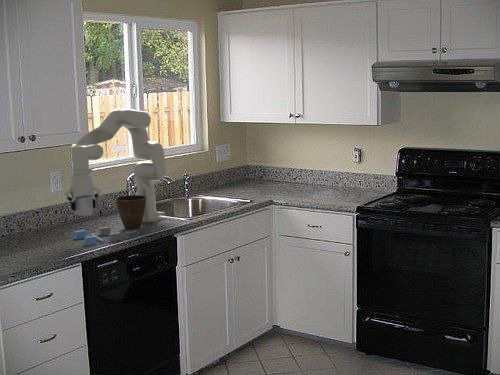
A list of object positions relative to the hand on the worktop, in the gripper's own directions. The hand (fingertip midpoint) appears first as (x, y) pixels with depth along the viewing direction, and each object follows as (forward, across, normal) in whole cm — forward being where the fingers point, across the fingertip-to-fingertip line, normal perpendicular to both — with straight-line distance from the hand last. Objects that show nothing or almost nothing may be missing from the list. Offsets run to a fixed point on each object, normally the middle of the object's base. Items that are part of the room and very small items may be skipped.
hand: (83, 209), depth 329 cm
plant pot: (+16, -28, -12) cm, 34 cm away
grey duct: (+15, -14, 0) cm, 21 cm away
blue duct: (+15, -2, 0) cm, 15 cm away
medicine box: (+3, 0, 0) cm, 3 cm away
